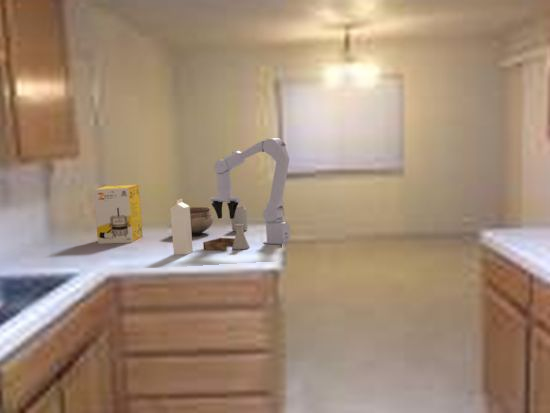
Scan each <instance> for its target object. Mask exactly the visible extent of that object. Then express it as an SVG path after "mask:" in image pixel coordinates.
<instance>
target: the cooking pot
mask: <svg viewBox="0 0 550 413" xmlns="http://www.w3.org/2000/svg"><path fill="white" fill-rule="evenodd" d="M210 209H211V206H190V219H191V234H192V236H199V235H202V233H204V232H205V231H207V230H208V229H210V227H211V226H212V224H213V221H214V219H213V218H214V217H213V214H212V212H211V210H210Z"/></svg>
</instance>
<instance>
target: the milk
mask: <svg viewBox="0 0 550 413" xmlns="http://www.w3.org/2000/svg"><path fill="white" fill-rule="evenodd" d="M190 207H191V205H188V204H187V203H184V202H183V198H179V199H177V200H176V204H175V205H173V206H172V207H170V220H171V234H172V249H173V255H174V256H175V255H190V254H191V253H193V252H194V251H193V250H194V249H193V239H192V238H193V237H192V236H193V235H192V234H191V219H190Z"/></svg>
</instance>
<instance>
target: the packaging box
mask: <svg viewBox="0 0 550 413" xmlns="http://www.w3.org/2000/svg"><path fill="white" fill-rule="evenodd" d="M93 201H94V210H95V211H94V212H95V213H94V214H95V223H96V235H97V244H99V245H103V244H125V243H127V244H130V243H134V242H136V241H138V240H139V239H141V238H142V237H144V235H143V225H142V224H143V222H142V210H141V197H140V185H139V184H125V185H122V184H121V185H106V186H102V187H98V188H94V189H93Z"/></svg>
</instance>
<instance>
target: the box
mask: <svg viewBox="0 0 550 413" xmlns="http://www.w3.org/2000/svg"><path fill="white" fill-rule="evenodd" d="M234 240H235V237H216V238H215V239H214V238H213V239H211V240H208V241H204V242H202V245H203V246H202V247H203V250H207V251H223V252H227V251H228V248H227V246H232V247H233V243H234Z"/></svg>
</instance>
